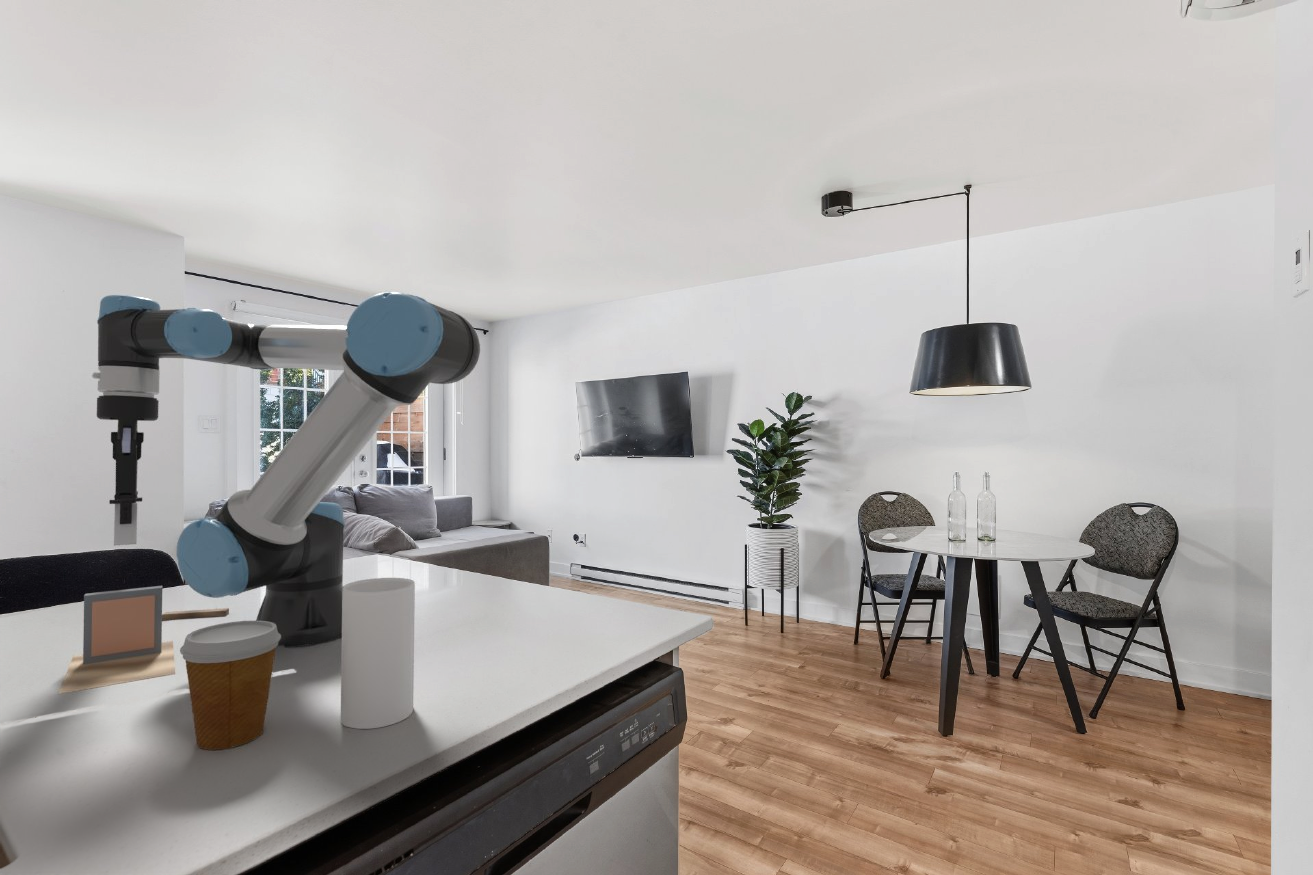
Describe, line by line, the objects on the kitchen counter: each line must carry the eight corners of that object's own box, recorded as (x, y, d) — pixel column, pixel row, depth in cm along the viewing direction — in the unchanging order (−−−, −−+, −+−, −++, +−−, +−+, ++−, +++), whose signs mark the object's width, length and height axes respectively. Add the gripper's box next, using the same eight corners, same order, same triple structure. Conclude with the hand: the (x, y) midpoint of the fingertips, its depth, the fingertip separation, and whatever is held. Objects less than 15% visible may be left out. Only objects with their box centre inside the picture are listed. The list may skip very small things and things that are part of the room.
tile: (84, 661, 94) (85, 593, 94) (161, 649, 99) (162, 585, 99) (82, 664, 92) (84, 596, 92) (161, 652, 98) (162, 587, 98)
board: (73, 659, 96) (73, 655, 96) (172, 644, 103) (172, 640, 103) (58, 698, 82) (58, 693, 82) (175, 677, 89) (175, 673, 89)
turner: (232, 613, 122) (232, 605, 122) (221, 622, 117) (221, 613, 117) (115, 621, 117) (115, 612, 117) (98, 630, 111) (98, 621, 111)
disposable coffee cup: (212, 719, 76) (213, 619, 76) (294, 717, 77) (296, 618, 77) (156, 759, 67) (158, 645, 67) (251, 756, 68) (253, 643, 68)
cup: (367, 735, 73) (369, 595, 73) (326, 718, 77) (328, 586, 77) (427, 710, 80) (428, 582, 80) (386, 695, 84) (388, 574, 84)
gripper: (100, 395, 104) (97, 540, 103) (93, 392, 93) (90, 552, 93) (158, 398, 108) (155, 536, 108) (158, 395, 98) (155, 547, 98)
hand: (125, 543), depth 101 cm, fingers closed
